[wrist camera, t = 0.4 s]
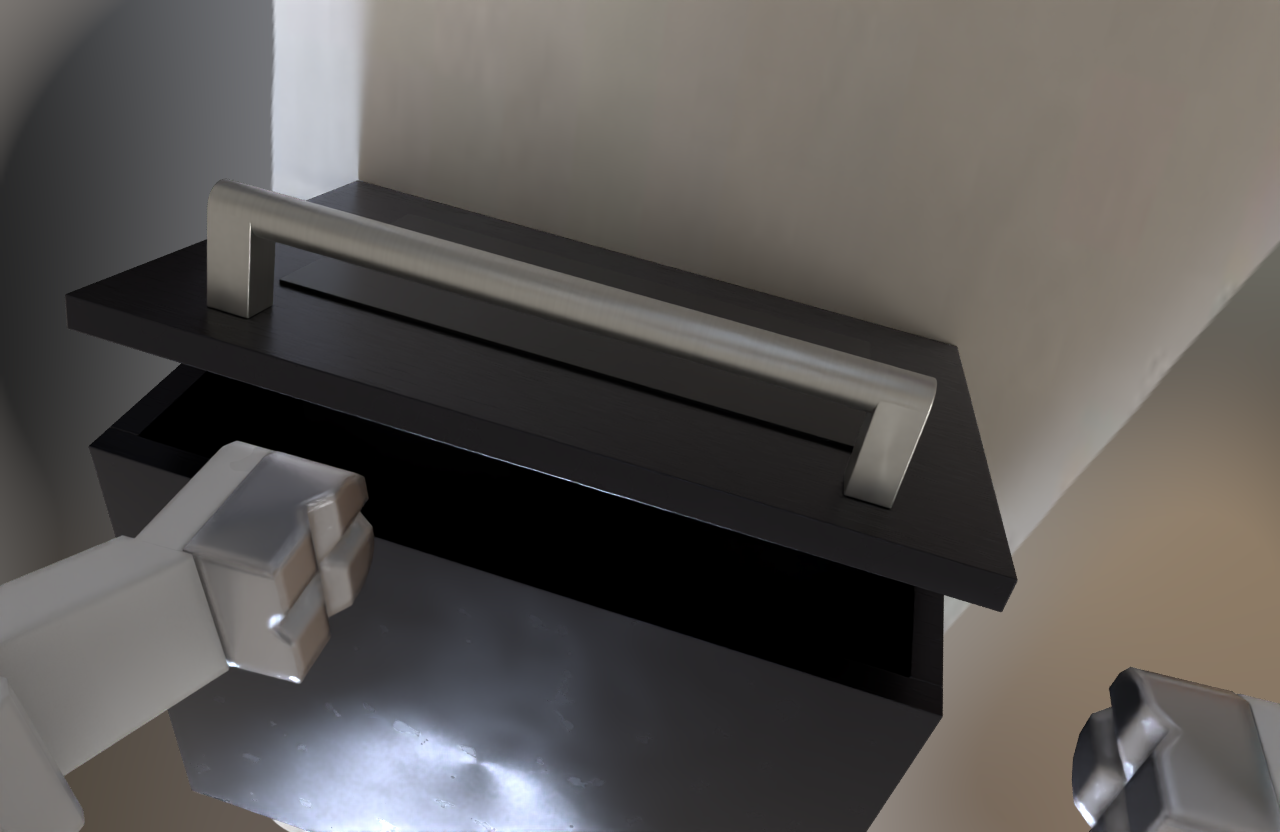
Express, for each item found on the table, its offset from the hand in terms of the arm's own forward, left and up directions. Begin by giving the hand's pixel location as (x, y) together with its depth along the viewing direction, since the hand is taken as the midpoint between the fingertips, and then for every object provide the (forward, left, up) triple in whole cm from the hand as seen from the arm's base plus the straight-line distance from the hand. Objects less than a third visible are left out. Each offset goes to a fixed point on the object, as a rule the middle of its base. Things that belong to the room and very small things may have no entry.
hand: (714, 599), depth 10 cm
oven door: (+21, -8, -46) cm, 51 cm away
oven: (+41, -8, -45) cm, 62 cm away
